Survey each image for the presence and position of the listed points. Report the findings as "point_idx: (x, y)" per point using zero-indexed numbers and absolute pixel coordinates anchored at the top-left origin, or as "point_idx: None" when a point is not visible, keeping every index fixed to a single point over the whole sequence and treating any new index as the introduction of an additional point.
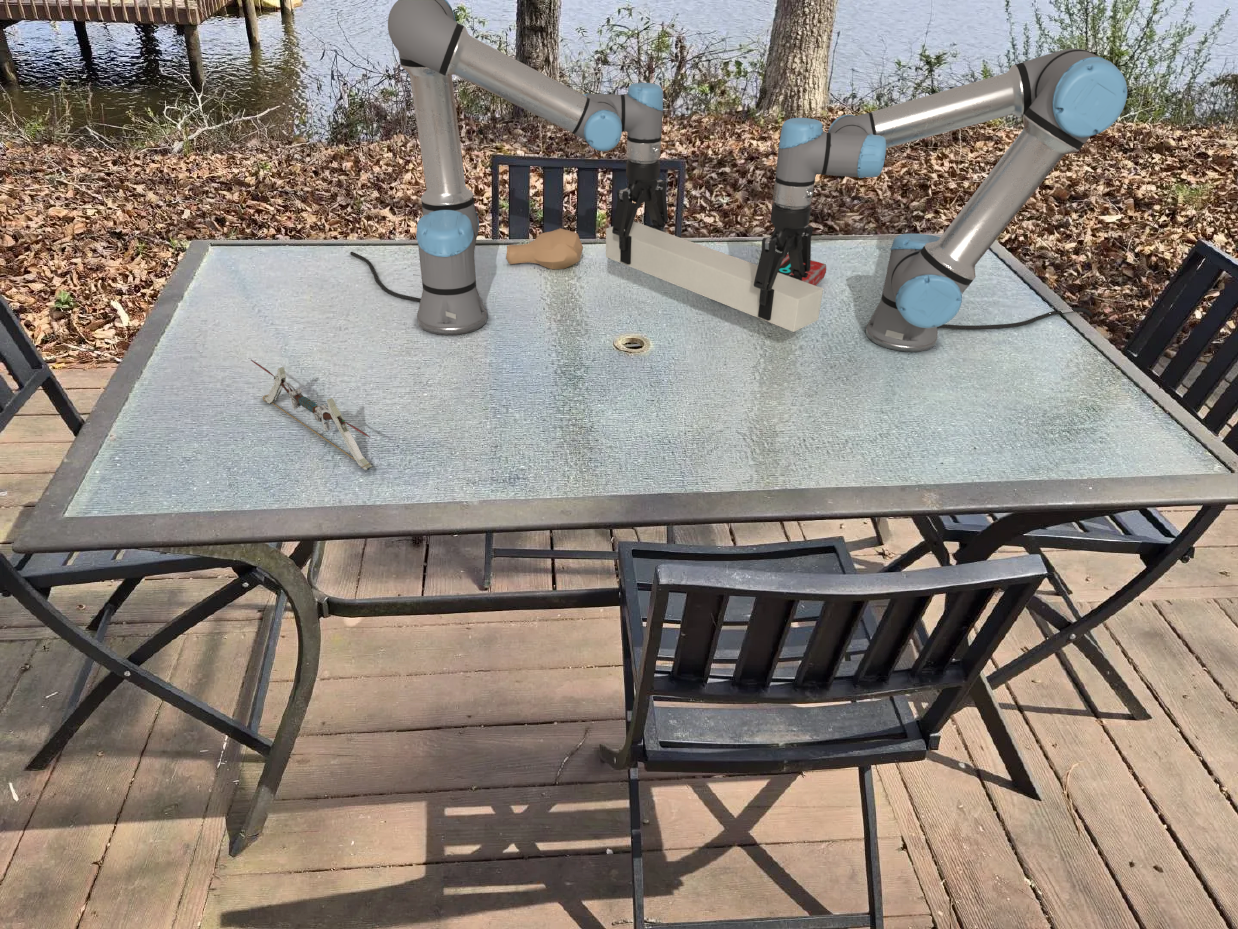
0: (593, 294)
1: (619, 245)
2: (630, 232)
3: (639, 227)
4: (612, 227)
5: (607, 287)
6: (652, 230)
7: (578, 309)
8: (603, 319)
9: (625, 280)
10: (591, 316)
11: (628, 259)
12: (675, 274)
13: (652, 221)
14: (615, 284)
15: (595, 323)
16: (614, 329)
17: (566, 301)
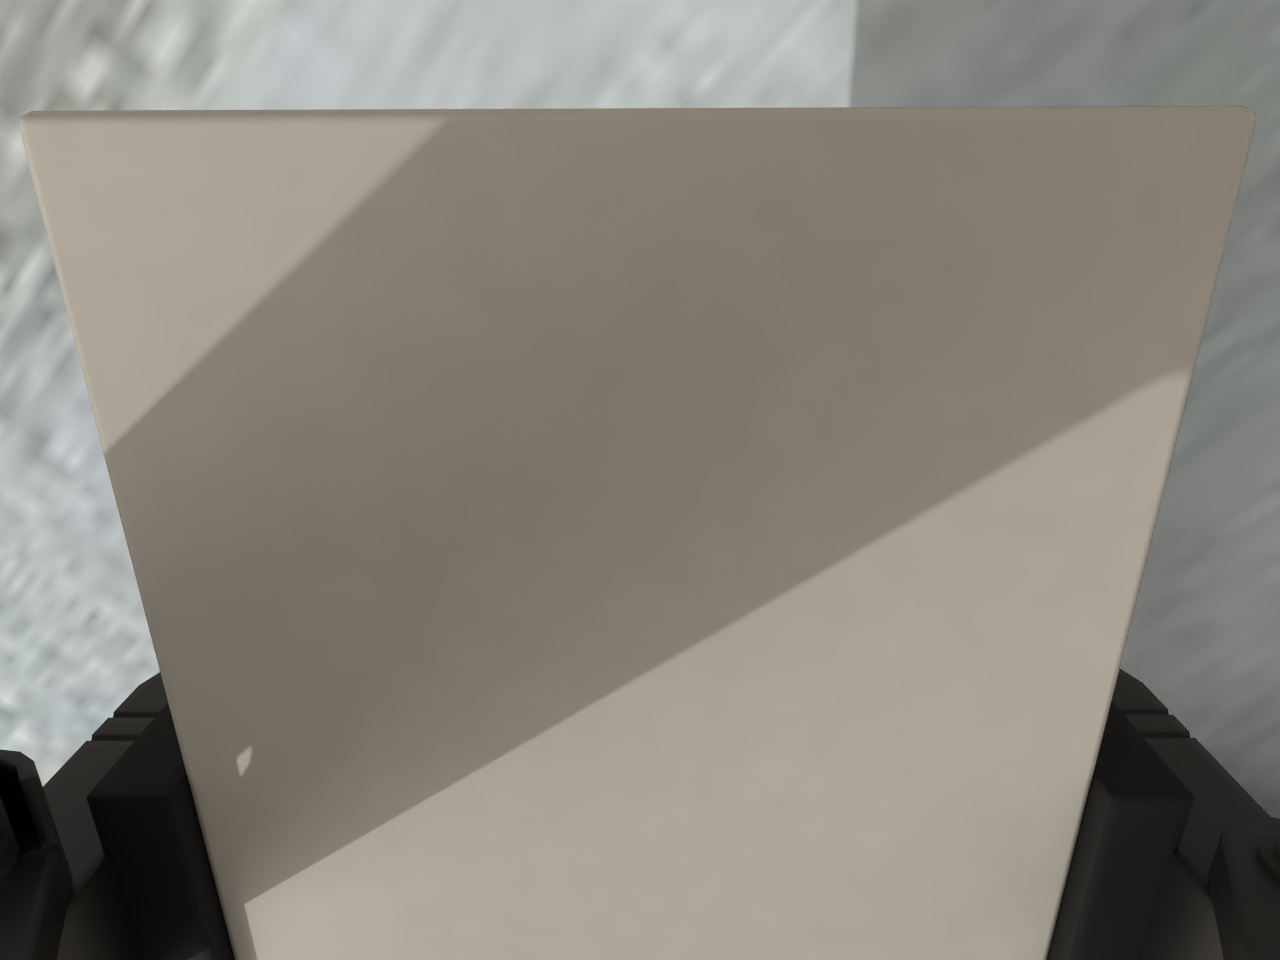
0: (342, 103)
1: (124, 712)
2: (429, 778)
3: (870, 684)
4: (241, 205)
5: (569, 59)
6: (918, 957)
7: (35, 279)
8: (126, 548)
9: (842, 44)
10: (68, 453)
11: None
12: None
13: (1221, 932)
14: (687, 55)
15: (34, 560)
16: (109, 701)
17: (15, 53)
